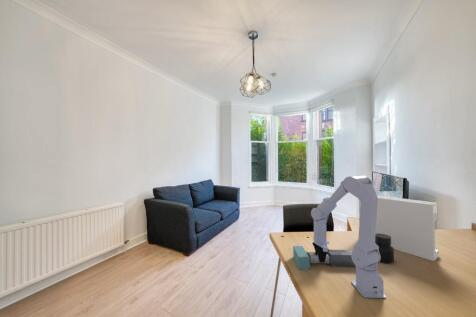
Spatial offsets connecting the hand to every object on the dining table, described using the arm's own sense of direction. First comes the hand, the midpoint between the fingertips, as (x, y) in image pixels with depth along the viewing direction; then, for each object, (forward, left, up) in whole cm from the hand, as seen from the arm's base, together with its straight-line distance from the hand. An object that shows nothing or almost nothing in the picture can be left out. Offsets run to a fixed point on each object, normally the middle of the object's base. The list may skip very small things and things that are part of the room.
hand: (320, 260), depth 97 cm
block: (+21, -50, -2) cm, 54 cm away
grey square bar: (0, -3, -1) cm, 3 cm away
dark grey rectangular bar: (0, -11, -2) cm, 11 cm away
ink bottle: (+5, -33, -2) cm, 33 cm away
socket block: (0, +10, -2) cm, 10 cm away
